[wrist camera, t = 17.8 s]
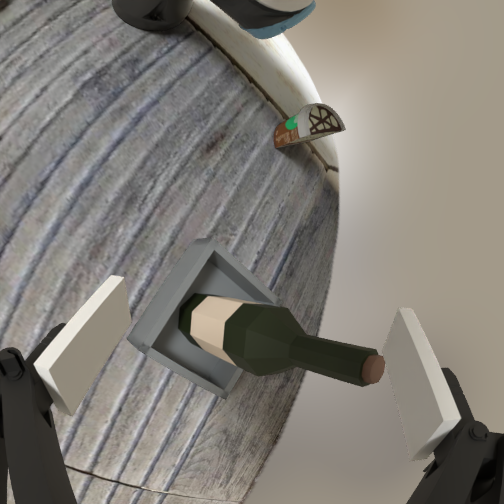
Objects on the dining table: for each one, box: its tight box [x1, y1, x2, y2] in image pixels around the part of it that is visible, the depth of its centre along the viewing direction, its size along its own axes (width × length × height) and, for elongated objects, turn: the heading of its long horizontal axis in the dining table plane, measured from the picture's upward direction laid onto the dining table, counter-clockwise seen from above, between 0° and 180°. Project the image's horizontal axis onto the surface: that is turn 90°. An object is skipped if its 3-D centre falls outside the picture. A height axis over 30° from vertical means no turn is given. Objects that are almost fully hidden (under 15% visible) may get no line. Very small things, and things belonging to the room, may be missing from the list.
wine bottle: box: [178, 293, 385, 387], centre depth 35 cm, size 8×8×30 cm
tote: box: [127, 237, 282, 400], centre depth 46 cm, size 18×16×6 cm
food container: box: [274, 103, 346, 148], centre depth 56 cm, size 12×6×10 cm, turn 112°
